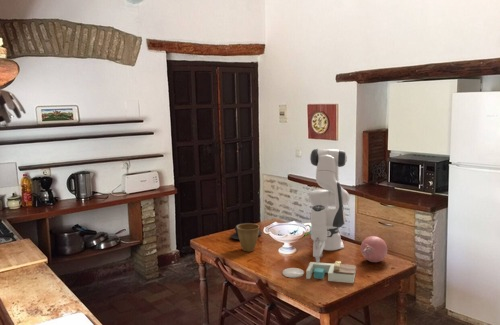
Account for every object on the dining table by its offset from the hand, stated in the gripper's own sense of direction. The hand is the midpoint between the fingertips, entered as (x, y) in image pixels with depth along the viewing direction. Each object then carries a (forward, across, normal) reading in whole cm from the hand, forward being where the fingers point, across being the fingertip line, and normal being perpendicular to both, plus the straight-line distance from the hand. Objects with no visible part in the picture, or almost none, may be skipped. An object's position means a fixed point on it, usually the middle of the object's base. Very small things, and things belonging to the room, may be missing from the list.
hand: (319, 259), depth 247 cm
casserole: (+9, +61, +62) cm, 88 cm away
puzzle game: (+10, +76, +26) cm, 81 cm away
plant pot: (+10, +35, +52) cm, 63 cm away
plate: (+10, +2, +15) cm, 18 cm away
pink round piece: (+10, +28, -27) cm, 40 cm away
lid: (+5, +1, -14) cm, 15 cm away
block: (+10, 0, 0) cm, 10 cm away
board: (+10, +3, -6) cm, 12 cm away
